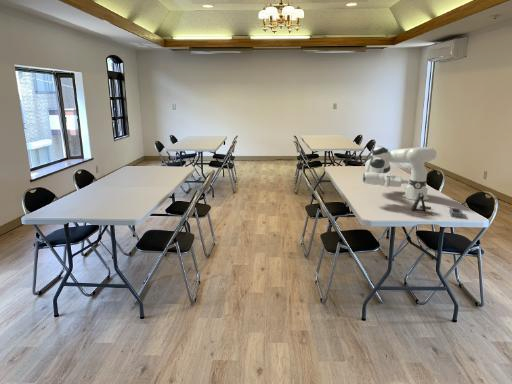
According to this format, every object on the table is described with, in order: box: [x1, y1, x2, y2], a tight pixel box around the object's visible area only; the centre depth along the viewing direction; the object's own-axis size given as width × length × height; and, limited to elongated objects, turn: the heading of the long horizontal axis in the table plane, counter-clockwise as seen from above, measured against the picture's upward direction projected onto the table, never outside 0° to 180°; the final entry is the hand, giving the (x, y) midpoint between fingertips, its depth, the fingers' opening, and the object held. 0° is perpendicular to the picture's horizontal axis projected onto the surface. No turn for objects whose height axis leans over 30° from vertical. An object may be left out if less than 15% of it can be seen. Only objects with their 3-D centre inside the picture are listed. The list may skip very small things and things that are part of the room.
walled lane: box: [419, 205, 433, 216], centre depth 259 cm, size 16×7×2 cm, turn 160°
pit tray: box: [448, 207, 464, 219], centre depth 253 cm, size 12×6×3 cm, turn 160°
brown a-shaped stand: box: [411, 193, 427, 213], centre depth 259 cm, size 9×6×12 cm, turn 73°
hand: (408, 182), depth 258 cm, fingers closed
